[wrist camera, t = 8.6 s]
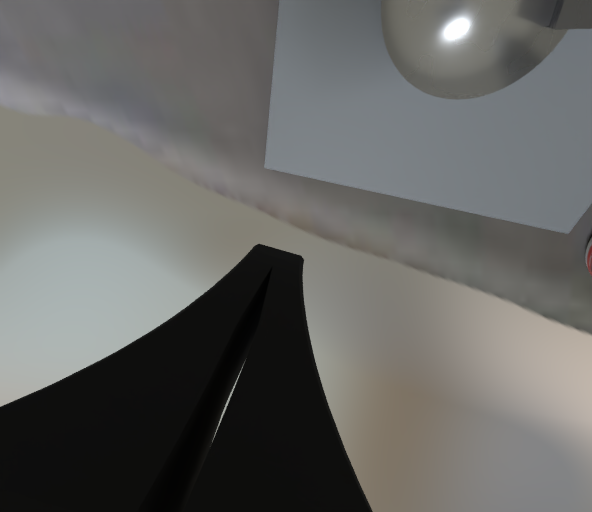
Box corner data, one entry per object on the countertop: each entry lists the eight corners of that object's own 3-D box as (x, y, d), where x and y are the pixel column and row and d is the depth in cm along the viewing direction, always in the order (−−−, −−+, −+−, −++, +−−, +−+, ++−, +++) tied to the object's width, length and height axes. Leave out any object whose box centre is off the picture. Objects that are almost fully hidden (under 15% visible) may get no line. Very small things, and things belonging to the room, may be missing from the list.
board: (270, 158, 19) (264, 168, 18) (323, -378, 9) (316, -421, 8) (558, 220, 18) (568, 234, 17) (940, -304, 8) (1013, -341, 7)
